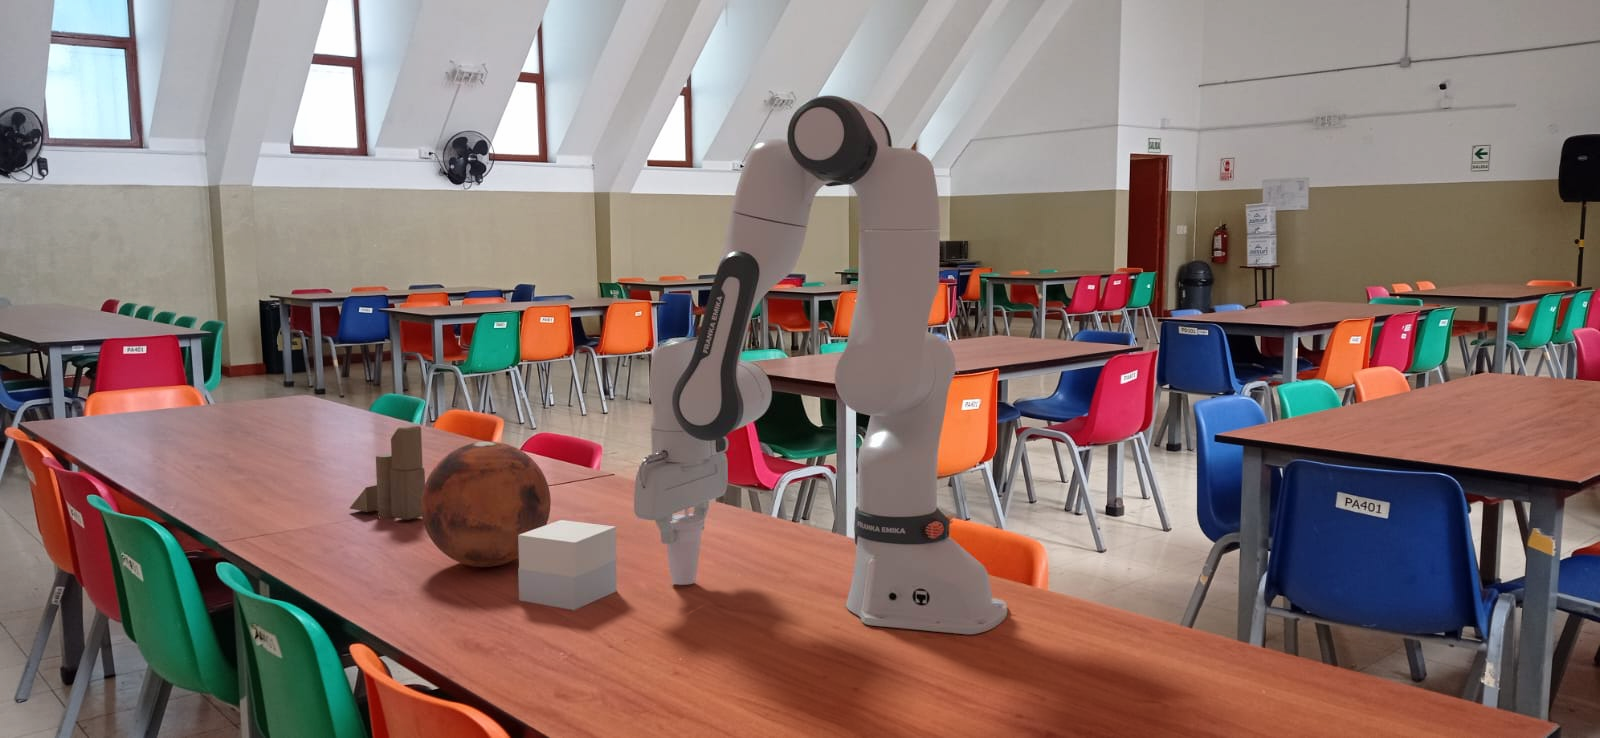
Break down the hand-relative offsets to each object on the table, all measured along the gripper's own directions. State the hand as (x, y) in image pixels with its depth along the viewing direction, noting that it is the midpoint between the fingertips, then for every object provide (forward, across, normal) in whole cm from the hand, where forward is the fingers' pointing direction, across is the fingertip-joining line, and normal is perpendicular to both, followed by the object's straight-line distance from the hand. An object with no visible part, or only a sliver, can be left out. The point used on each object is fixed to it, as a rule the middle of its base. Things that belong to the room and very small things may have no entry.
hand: (683, 537), depth 171 cm
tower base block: (+8, -12, +12) cm, 19 cm away
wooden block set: (+7, +12, +75) cm, 76 cm away
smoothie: (+7, 0, 0) cm, 7 cm away
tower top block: (+3, -12, +12) cm, 17 cm away
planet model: (+7, -5, +34) cm, 35 cm away
